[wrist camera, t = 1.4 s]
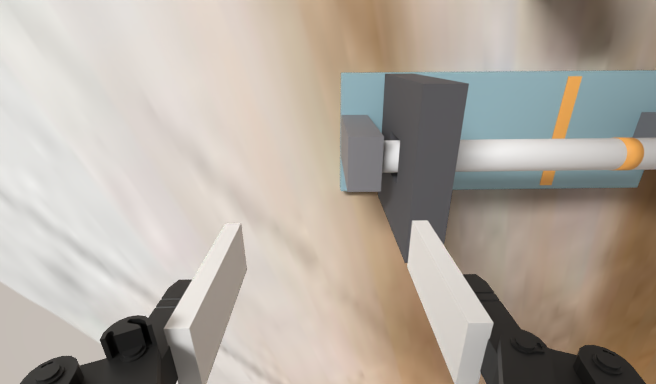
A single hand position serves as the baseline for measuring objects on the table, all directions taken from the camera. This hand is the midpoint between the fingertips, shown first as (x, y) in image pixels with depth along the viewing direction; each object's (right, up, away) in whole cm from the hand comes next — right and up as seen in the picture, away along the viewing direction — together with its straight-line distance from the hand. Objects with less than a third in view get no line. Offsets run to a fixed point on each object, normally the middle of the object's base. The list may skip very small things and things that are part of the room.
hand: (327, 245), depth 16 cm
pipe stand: (+21, +10, +24) cm, 33 cm away
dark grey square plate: (+8, +9, +21) cm, 24 cm away
